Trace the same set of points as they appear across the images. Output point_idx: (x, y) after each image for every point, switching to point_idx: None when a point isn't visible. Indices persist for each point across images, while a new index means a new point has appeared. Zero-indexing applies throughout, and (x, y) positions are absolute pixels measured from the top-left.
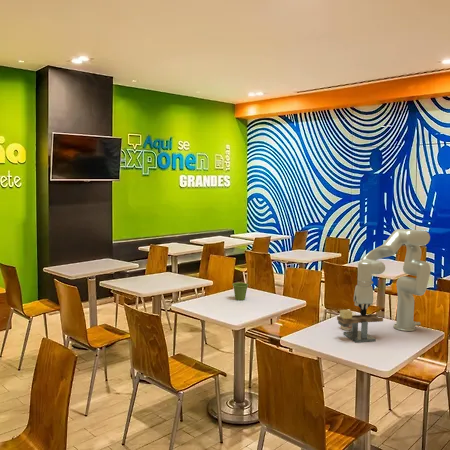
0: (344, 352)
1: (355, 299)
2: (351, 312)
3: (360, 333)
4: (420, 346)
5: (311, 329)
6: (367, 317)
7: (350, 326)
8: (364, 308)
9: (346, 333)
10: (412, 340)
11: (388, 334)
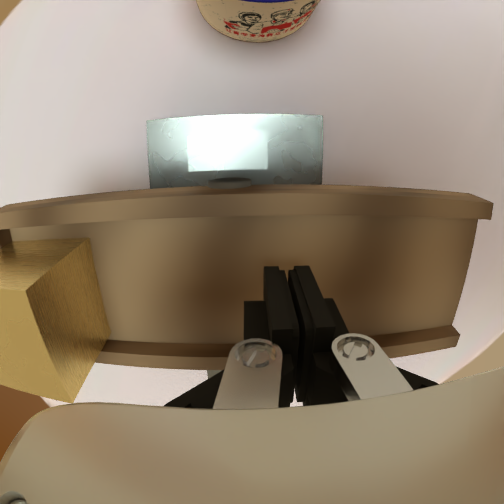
0: (86, 394)
1: (57, 469)
2: (65, 396)
3: (268, 179)
4: (453, 367)
5: (11, 31)
6: (362, 244)
7: (249, 32)
8: (308, 396)
9: (152, 165)
10: (488, 298)
11: (462, 186)
